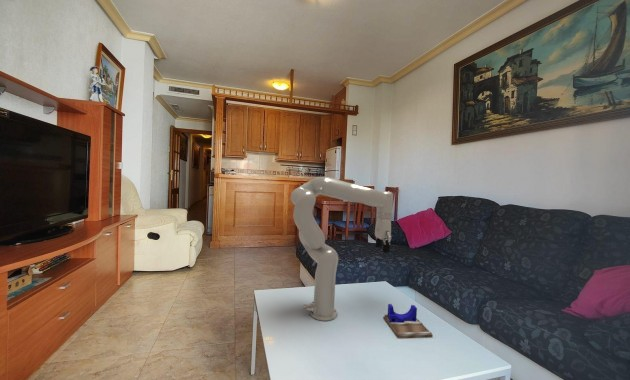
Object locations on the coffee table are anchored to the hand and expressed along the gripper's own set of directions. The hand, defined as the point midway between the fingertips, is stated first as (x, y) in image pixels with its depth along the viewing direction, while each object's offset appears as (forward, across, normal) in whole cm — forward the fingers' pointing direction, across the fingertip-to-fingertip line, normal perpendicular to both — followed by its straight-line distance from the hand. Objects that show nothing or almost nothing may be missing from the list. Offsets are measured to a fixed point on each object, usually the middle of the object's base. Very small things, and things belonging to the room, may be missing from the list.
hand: (382, 249), depth 132 cm
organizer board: (+28, +20, +4) cm, 35 cm away
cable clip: (+27, +17, +4) cm, 32 cm away
